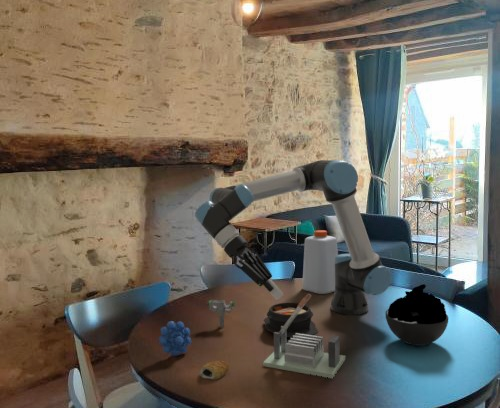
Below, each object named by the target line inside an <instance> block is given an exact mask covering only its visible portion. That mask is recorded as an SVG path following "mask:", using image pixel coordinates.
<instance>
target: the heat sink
mask: <svg viewBox="0 0 500 408" xmlns="http://www.w3.org/2000/svg"><path fill="white" fill-rule="evenodd" d="M282 328H283V326H281V329H282ZM287 338H288V337H287V330H286V331H285V332H284V334H283V335H282V336H281V337H280V333H278V332H274V333H273V352H274V359H278V360H279V359H280V346H281V352H285V354H284V355H285V364H289V365H295V366H300V367H306V368H312V369H313V368H314V367H315V365H316V364H317V363H318V361H319V360H320V359H321V357H322V356H323V355H324V353H325V352H324V351H325V350H324V349H325V348H324V337H323V336H318V335H306V334H299V333H296V334H295V336H293V338H289V340H288V339H287ZM327 347H328V352H327V353H328V355H329V367H333V368H335V367H336V366H337V364H338V363H339V361H340V355H341V354H340V353H341V352H340V350H341V349H340V336H337V335H332V336H331V338H330V339H329V340H328V344H327Z"/></svg>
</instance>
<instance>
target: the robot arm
mask: <svg viewBox="0 0 500 408" xmlns="http://www.w3.org/2000/svg"><path fill="white" fill-rule="evenodd" d="M358 182H359V175H358V171H357V170H356V168H355V166H353V164H352V163H350V162H348V161H346V160H343V159H342V160H340V159H334V160H333V159H331V160H329V159H328V160H325V159H322V160H321V159H320V160H316V161H313V162H310V163H306V164H303V165H300V166H296V167H295V166H294V168H293V169H292V170H291V171H287V172H283V173H279V174H275V175H271V176H267V177H262V178H258V179H254V180H251V181H246V182H242V183H238V184H235V185H231V186H227V187H217V188H214V189H213V190H211V192H210V193H209V200H207V201H205V202H203V203H202V204H201V205H200V206H199V207H198V208H197V209H196V211H195V212H194V216H195V218H196V220H197V221H198V222H199V223H200V225H201V226H202V227H203V228H204V230H205V231H206V232H208V234H209V235H210V237H212V238H213V239H214V241H215V242H216V244H217V245H219V247H220V248H221V249H223V251H224V252H225V254H226V255H227V256H228V257H229V258H230V259H233V258H234V259H235V260H236V263H234V266H236V268H238V269H240V270H241V271H242V272H243V273H244V274H246V275H247V277H249V278H250V279H251V281H253V282H254V283H255V284H256V285H258V286H259V287H262V286H264V288H265V289H266V291H268V293H269V294H271V296H272V297H273V298H274V299H275V300H276V301H278V300H280V299H281V298H282V297H283V296H284V295H285V293H284V292H283V291H282V290H281V289H280V288H279V286H278V285H277V284H276V283H275V282H274V280H272V277H273V275H272V273H271V272H270V270H269V268H268V267H267V265H266V264H265V263H264V261H263V260H262V258H261V257H260V255H259V253H258V252H257V251H254V253H253V252H252V251H251V249H249V248H248V247H247V245H248V241H247V240H246V239H245V237H244V236H243V235H241V234H240V232H239V231H238V229H237V228H236V227H235V226H234V225H233V224H232V223H231V222H230V221H232V220H233V219H234V218H236V216H238V215H239V214H241V213H242V212H244V210H246V209H247V208H249V206H250V205H252V203H254V202H256V201H257V202H258V201H261V200H265V199H269V198H273V197H276V196H277V197H278V196H280V195H284V194H287V193H292V192H296V191H298V192H300V193H303V192H306V191H320V192H323V195H324V198H325V201H326V202H327V203H329V204H331V205H332V208H333V211H334V214H335V216H336V219H337V222H338V225H339V227H340V230H341V231H340V232H341V233H342V236H343V239H344V241H345V244H346V247H347V250H348V253H341V254H338V255H337V256H336V257H335V264H334V265H335V291H334V292H333V296H332V299H331V302H330V310H331V311H333V312H334V313H337V314H341V315H349V316H350V315H354V316H355V315H356V316H357V315H362V314H365V313H367V312H369V303H368V300H367V296H366V294H367V295H371V296H379V295H382V294H384V293H385V292H386V291H387V290H388V289H389V287H390V284H391V282H392V273H391V271H390V269H389V268H388V267H387V266H385V265H383V264H382V260H381V258H380V255H379V254H377V253H376V252H374V250H373V247H372V244H371V241H370V238H369V235H368V233H367V230H366V226H365V224H364V221H363V218H362V215H361V212H360V209H359V205H358V203H357V200H356V194H357V191H358V189H357V188H356V187H357V186H358V184H357V183H358Z"/></svg>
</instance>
